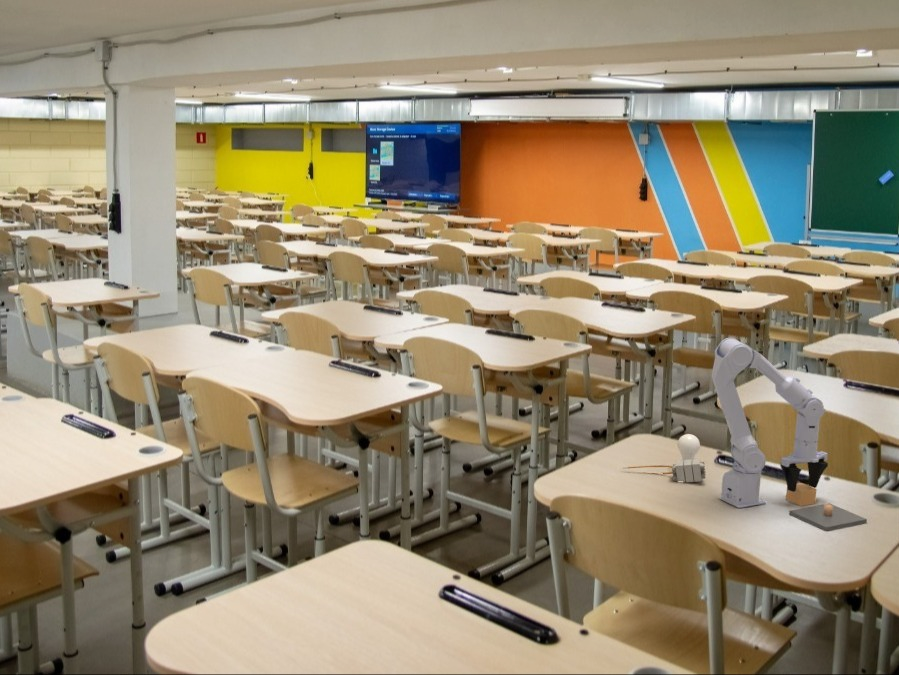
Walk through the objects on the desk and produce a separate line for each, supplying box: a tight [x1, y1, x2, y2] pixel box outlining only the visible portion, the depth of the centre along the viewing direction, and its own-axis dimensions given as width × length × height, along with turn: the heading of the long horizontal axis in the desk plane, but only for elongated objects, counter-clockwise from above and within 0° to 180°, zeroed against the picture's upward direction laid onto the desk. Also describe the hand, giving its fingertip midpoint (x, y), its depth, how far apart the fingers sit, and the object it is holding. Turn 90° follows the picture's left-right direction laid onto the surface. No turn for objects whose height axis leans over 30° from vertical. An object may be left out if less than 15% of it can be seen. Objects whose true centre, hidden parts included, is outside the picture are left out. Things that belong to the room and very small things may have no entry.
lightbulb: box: [677, 433, 701, 461], centre depth 271 cm, size 6×6×11 cm
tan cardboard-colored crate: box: [785, 482, 817, 507], centre depth 248 cm, size 5×5×4 cm
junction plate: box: [788, 503, 868, 532], centre depth 236 cm, size 14×12×4 cm
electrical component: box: [622, 458, 706, 483], centre depth 265 cm, size 24×6×5 cm, turn 74°
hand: (802, 488), depth 248 cm, fingers open, 7 cm apart
